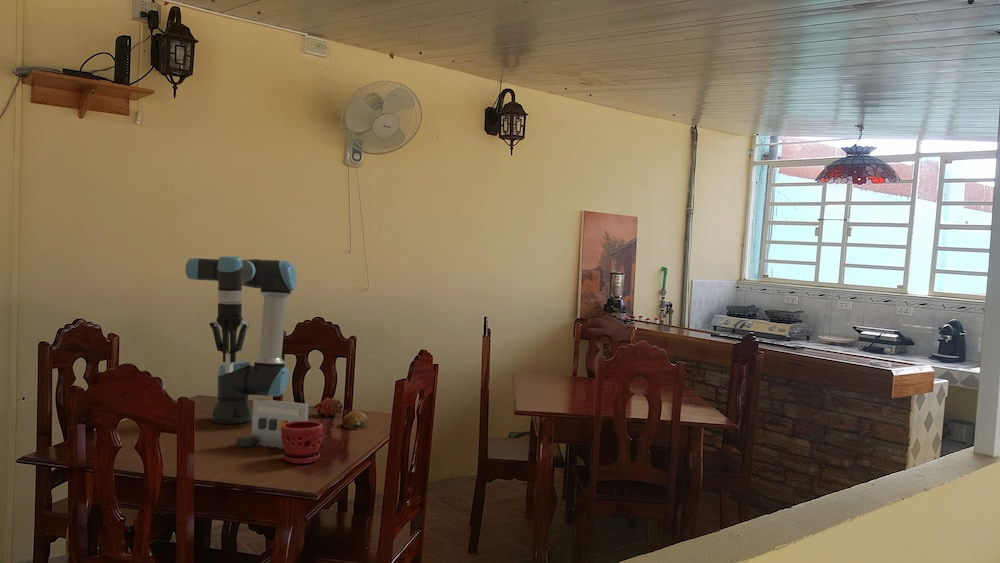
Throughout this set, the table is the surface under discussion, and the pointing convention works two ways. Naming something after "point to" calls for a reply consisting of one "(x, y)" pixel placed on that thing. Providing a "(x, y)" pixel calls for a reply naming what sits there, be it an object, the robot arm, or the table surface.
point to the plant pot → (301, 441)
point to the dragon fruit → (329, 407)
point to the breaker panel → (274, 420)
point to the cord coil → (245, 442)
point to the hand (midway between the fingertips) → (229, 371)
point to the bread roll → (355, 420)
